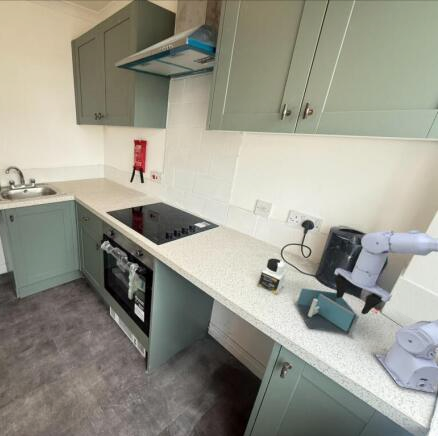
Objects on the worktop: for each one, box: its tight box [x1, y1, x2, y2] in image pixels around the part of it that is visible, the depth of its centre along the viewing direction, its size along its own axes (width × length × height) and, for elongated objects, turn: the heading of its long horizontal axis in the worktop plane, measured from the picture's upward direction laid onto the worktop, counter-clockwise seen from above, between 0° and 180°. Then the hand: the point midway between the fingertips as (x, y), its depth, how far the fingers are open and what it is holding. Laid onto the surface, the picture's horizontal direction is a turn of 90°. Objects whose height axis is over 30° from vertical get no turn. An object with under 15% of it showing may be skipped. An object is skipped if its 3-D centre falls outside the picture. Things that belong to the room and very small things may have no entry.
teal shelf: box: [308, 294, 356, 332], centre depth 81 cm, size 5×10×7 cm, turn 27°
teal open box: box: [295, 287, 360, 337], centre depth 83 cm, size 12×12×8 cm
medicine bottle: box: [258, 258, 287, 294], centre depth 99 cm, size 7×7×12 cm
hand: (351, 304), depth 78 cm, fingers open, 7 cm apart
